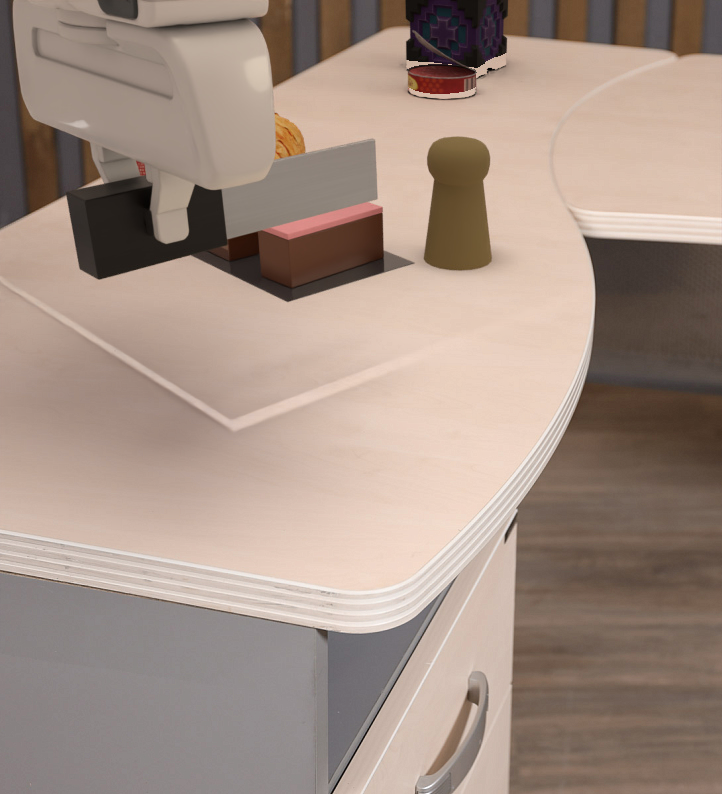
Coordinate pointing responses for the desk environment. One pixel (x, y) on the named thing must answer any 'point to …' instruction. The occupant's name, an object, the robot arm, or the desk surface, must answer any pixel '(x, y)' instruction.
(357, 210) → the cake slice
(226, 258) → the cake
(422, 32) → the energy cube
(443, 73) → the canned food
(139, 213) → the knife
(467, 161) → the cork
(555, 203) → the desk surface
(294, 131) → the croissant
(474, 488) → the desk surface
